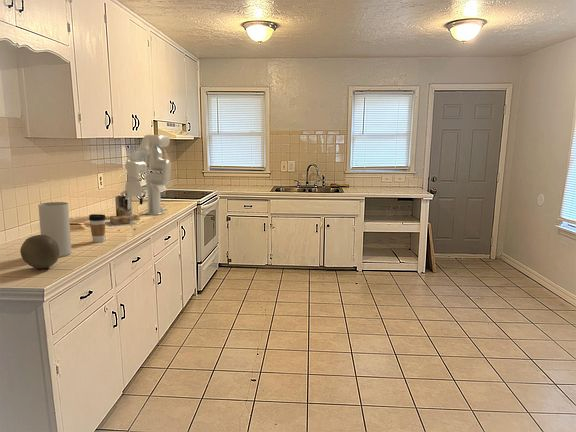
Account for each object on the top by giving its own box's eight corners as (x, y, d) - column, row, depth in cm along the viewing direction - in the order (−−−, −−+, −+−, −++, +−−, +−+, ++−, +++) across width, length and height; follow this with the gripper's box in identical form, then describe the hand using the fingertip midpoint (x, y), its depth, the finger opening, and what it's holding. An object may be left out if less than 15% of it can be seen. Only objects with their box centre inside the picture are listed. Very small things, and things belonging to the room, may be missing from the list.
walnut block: (125, 221, 282) (125, 215, 282) (130, 223, 274) (129, 217, 274) (110, 222, 276) (109, 216, 276) (114, 225, 268) (113, 219, 268)
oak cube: (137, 220, 292) (137, 213, 292) (139, 222, 289) (139, 214, 288) (130, 221, 290) (129, 214, 289) (132, 222, 286) (132, 215, 285)
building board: (129, 221, 287) (129, 219, 287) (137, 226, 274) (137, 224, 274) (103, 224, 277) (103, 222, 277) (109, 228, 264) (109, 226, 264)
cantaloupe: (34, 264, 188) (31, 231, 185) (66, 264, 189) (64, 232, 186) (15, 273, 174) (12, 238, 172) (50, 274, 175) (47, 239, 172)
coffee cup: (90, 240, 234) (89, 213, 231) (106, 239, 237) (105, 213, 235) (90, 243, 226) (88, 216, 224) (107, 242, 230) (105, 215, 227)
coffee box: (132, 218, 302) (131, 195, 299) (128, 219, 295) (127, 197, 293) (120, 217, 303) (119, 195, 300) (115, 219, 296) (114, 196, 293)
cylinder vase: (64, 249, 213) (61, 201, 208) (76, 254, 205) (72, 204, 201) (38, 254, 203) (34, 203, 199) (48, 259, 195) (44, 206, 191)
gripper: (144, 179, 292) (144, 203, 294) (118, 179, 282) (119, 204, 284) (147, 180, 286) (148, 204, 288) (121, 180, 276) (122, 206, 278)
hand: (133, 204), depth 286 cm, fingers open, 9 cm apart
